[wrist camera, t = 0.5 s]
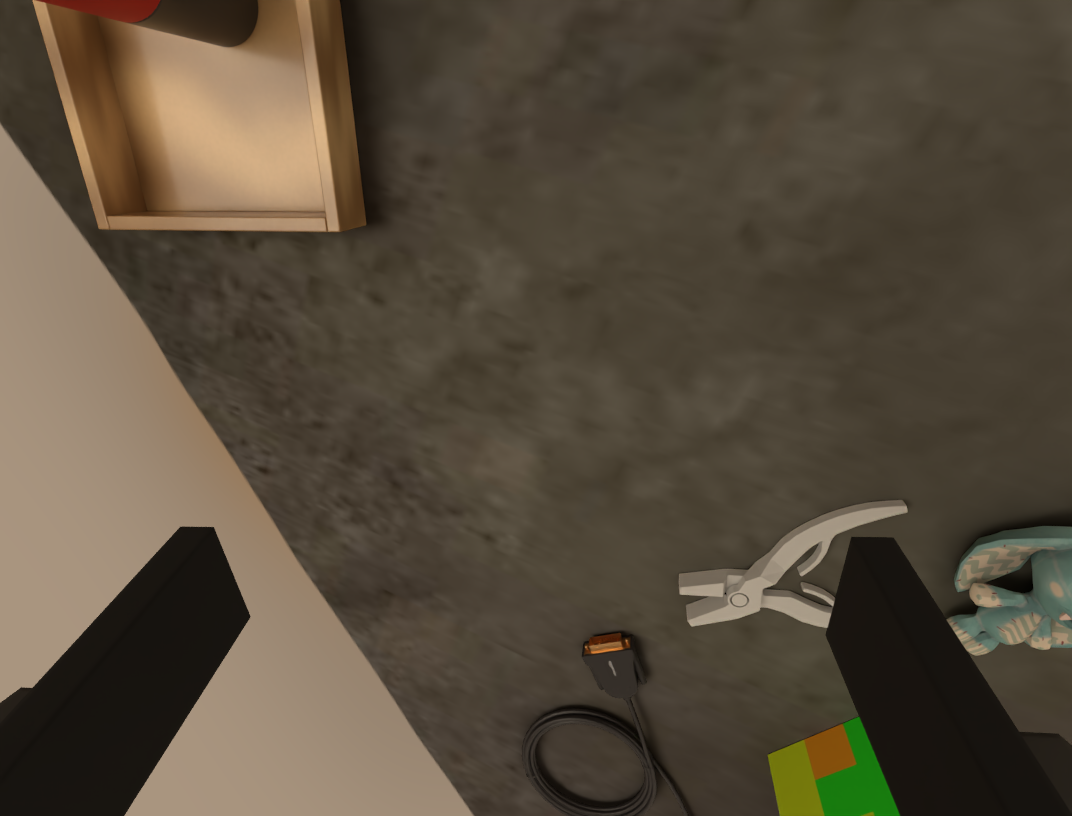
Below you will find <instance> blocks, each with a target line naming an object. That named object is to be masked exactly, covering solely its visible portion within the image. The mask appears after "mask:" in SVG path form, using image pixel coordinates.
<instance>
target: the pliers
mask: <svg viewBox="0 0 1072 816" xmlns="http://www.w3.org/2000/svg"><path fill="white" fill-rule="evenodd" d="M902 513H907V506H906V504H905V503H904V502H903V500H889V501H877V502H868V503H863V504H857V505H852V506H849V507H845V508H841V509H838V510H835V511H832V512H829V513H827V514H824V515H821V516H819V517H817V518H815V519H812V520H810V521H808V522H806V523H804V524H802V525H801V526H799V527H797V528H795V529H794V530H792V531H791V532H790V533H788V534H787V535H785V536H784V537H783V538H781V540H780V541H779V542H778V543H777V544H776V545H775V546H774V547H773V548H772V550H771V551H770V552H769V553H767V554H766V555H765V556H763V557H762V558H760V559H759V560H758V561H756V562H755V563H754V564H753V565H752V567H751V568H750V569H749V570H744V569H717V570H708V571H699V572H689V573H680V574H679V590H680V594H681V595H697V596H709V597H707V598H704V599H701V600H698V601H696V602H693V603H690V604H688V605H686V610H687V621H688V622H689V624H690V625H691V627H692V626H698V625H704V624H709V623H715V622H721V621H726V620H732V619H738V618H741V617H744V616H746V615H749V614H752V613H755V612H758V611H760V607H765V608H770V609H774V610H777V611H780V612H784V613H786V614H788V615H790V616H792V617H793V618H795V619H797V620H799V621H802V622H805V623H808V624H812V625H815V626H820V627H825V628H828V624H829V620H830V616H831V613H832V609H833V605H834V601H835V597H834V596H833V595H831V594H830V593H828V592H827V591H825V590H824V589H822V588H819V587H817V586H815V585H812V584H808V583H805V582H801V587H802V590H803V591H804V592H807V593H810V594H813V595H816V596H818V597H820V598H822V599H824V600H825V601H827V602H828V603H829V604H830V605H832V607H829V606H825V605H820V604H818V603H816V602H813V601H811V600H808V599H806V598H804V597H802V596H800V595H798V594H796V593H793V592H791V591H788V590H771V589H764V588H767V587H770V586H772V585H775V584H776V583H777V582H778V580H779V579H780V578H781V577H782V575H783V574H784V573H785V571H786V570H787V569H788V568H789V567H790V566H791V565H792V564H793V563H795V562H796V561H797V560H798V559H799V558H800V557H801V556H802V555H803V554H804V553H805V552H806V551H807V550H808V549H810V548H811V547H812V546H814V545H816V544H818V543H819V544H818V547H817V548H816V550H815V552H814V553H813V555H811V556H810V557H809V558H808V559H807V560H806V561H805V562H804V563H802V564H801V565H799V566H798V567H797V569H798V572H799V574H800V575H801V576H803V575H804V574H806V573H807V572H809V571H810V570H812V569H813V568H814V567H815V566H816V565H817V564H819V563H820V561H821V560H822V559H823V557H824V556H825V554H826V553H827V550H828V548H829V545H830V542H831V540H832V539H833V537H834V536H835V535H836V534H838V533H841V532H843V531H846V530H848V529H851V528H853V527H856V526H859V525H862V524H865V523H869V522H872V521H875V520H879V519H883V518H886V517H890V516H894V515H898V514H902ZM725 592H726V595H727V596H726V595H725Z"/></svg>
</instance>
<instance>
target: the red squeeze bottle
mask: <svg viewBox="0 0 1072 816" xmlns="http://www.w3.org/2000/svg"><path fill="white" fill-rule="evenodd" d="M36 1H40V2H44V3H48V4H52V5H56V6H60V7H64V8H68V9H72V10H76V11H80V12H85V13H89V14H93V15H97V16H101V17H105V18H109V19H113V20H117V21H121V22H125V23H129V24H133V25H137V26H141V27H145V28H149V29H153V30H157V31H161V32H165V33H169V34H173V35H177V36H181V37H185V38H189V39H193V40H198V41H202V42H206V43H210V44H214V45H218V46H222V47H234V46H238V45H240V44H242V43H243V42H245V41H246V40H247V39H248V38H249V37H250V35H251V34H252V33H253V31H254V29H255V26H256V23H257V19H258V0H36Z"/></svg>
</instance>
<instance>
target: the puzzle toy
mask: <svg viewBox="0 0 1072 816" xmlns="http://www.w3.org/2000/svg"><path fill="white" fill-rule="evenodd" d="M768 759H769V764H770V769H771V774H772V779H773V784H774V789H775V794H776V799H777V804H778V809H779V814H780V816H900V814H899V812H898V809H897V807H896V804H895V802H894V799H893V797H892V795H891V792H890V790H889V787H888V785H887V782H886V780H885V778H884V775H883V773H882V770H881V768H880V766H879V763H878V761H877V758H876V756H875V753H874V751H873V749H872V746H871V744H870V741H869V739H868V736H867V734H866V732H865V729H864V727H863V724H862V722H861V720H860V717H857V718H855V719H852V720H850V721H848V722H845V723H843V724H840V725H838V726H836V727H833V728H831V729H828V730H826V731H824V732H821V733H819V734H816V735H814V736H812V737H809V738H807V739H804V740H802V741H800V742H797V743H795V744H792V745H790V746H788V747H785V748H783V749H780V750H778V751H776V752H773V753H771V754H768Z"/></svg>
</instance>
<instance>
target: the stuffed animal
mask: <svg viewBox="0 0 1072 816" xmlns="http://www.w3.org/2000/svg"><path fill="white" fill-rule="evenodd" d="M1030 557H1031V564H1032V574H1033V590H1032V591H1030V592H1028V593H1019V592H1013V591H1009V590H1006V589H1003V588H999V587H995V586H992V585H989V584H983V583H986V582H988V581H991V580H993V579H996V578H998V577H1001V576H1004V575H1006V574H1009V573H1011V572H1014V571H1017V570H1019V569H1020V568H1021V567H1022V566H1023V565H1024V564H1025V563H1026V561H1027V560H1028V559H1029V558H1030ZM954 583H955V588H956V590H957V591H958V592H962V591H965V590H968V589H970V590H969V595H970V598H971V599H972V600H973V602H974V603H975V604H976V605H978V606H980V607H979V608H978V610H977V613H975V614H968V615H956V616H952V617H950V618H948V619H946V620H947V621H948V623H949V624H950V626H951V627H952V629H953V630H954V632H955V634H956V635H957V637H958V638H959V640H960V641H961V643H962V644H963V646H964V647H965V649H966V651H968V652H969V653H971V654H973V655H976V656H978V655H982V654H986V653H988V652H990V651H992V650H994V649H995V647H996V646H997V645H998V644H999V642H1002V643H1004V644H1007V645H1015V644H1019V643H1022V642H1023V641H1024V642H1026V643H1027V644H1028V645H1029V646H1031V647H1034V648H1037V649H1040V650H1046V649H1050V647H1065V648H1072V527H1065V526H1039V527H1031V528H1024V529H1014V530H1004V531H1001V532H999V533H996V534H992V535H989V536H985V537H981V538H978V539H977V540H976V541H975V542H974V544H973V545H972V546H971V547H970V548H969V549H968V550H967V551H966V552H965V554H964V555H963V556H962V557H961V559H960V562H959V565H958V568H957V570H956V573H955V576H954Z"/></svg>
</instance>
